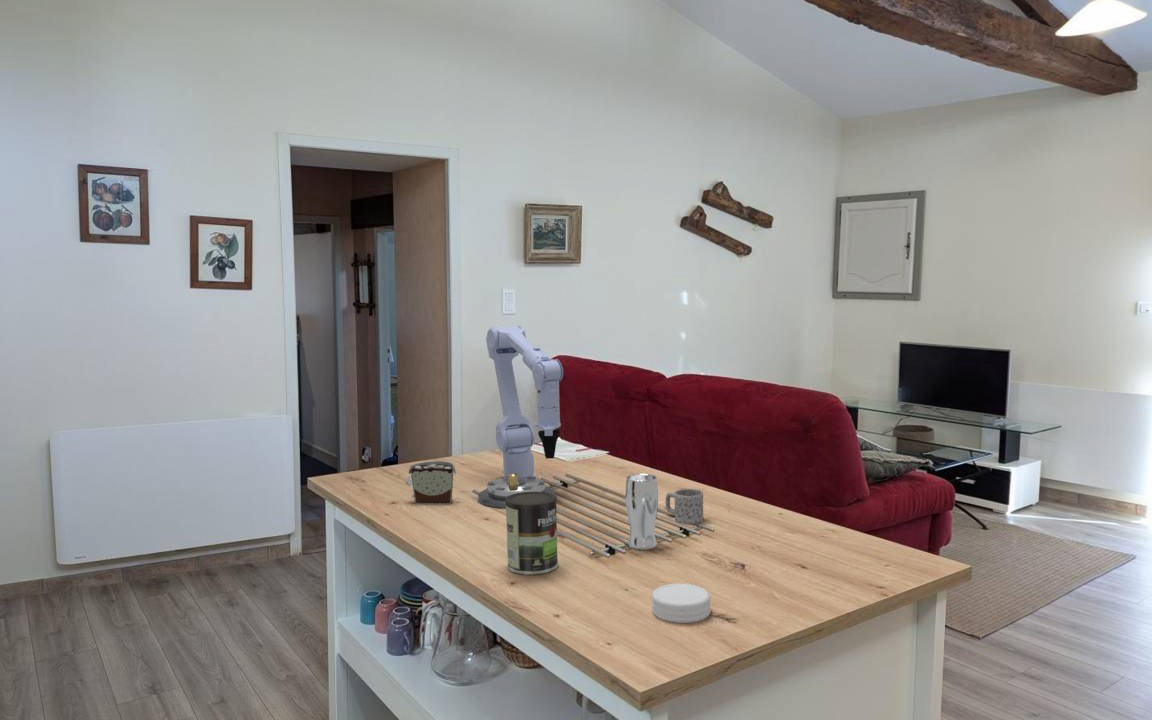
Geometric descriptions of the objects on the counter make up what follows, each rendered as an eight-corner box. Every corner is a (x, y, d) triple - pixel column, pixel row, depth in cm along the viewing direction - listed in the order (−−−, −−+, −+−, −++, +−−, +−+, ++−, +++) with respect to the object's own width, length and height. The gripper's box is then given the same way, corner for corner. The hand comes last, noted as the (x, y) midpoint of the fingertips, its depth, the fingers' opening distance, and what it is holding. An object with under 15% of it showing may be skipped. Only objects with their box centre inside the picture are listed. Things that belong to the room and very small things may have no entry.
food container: (462, 498, 221) (460, 460, 220) (456, 504, 215) (455, 466, 214) (416, 497, 222) (415, 460, 221) (409, 504, 216) (408, 466, 215)
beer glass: (637, 553, 175) (636, 482, 173) (620, 544, 181) (619, 476, 179) (665, 547, 178) (664, 478, 176) (647, 538, 184) (646, 471, 183)
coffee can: (568, 562, 170) (566, 494, 169) (539, 578, 161) (537, 507, 160) (526, 554, 176) (524, 488, 174) (496, 569, 167) (494, 500, 165)
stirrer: (402, 469, 239) (419, 467, 241) (402, 481, 240) (419, 479, 241) (415, 490, 221) (432, 488, 222) (415, 503, 221) (433, 501, 223)
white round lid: (645, 620, 142) (644, 600, 141) (660, 598, 151) (660, 579, 151) (703, 628, 138) (703, 607, 138) (715, 605, 147) (715, 586, 147)
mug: (708, 519, 198) (708, 492, 197) (692, 526, 193) (692, 498, 192) (674, 512, 204) (674, 485, 204) (657, 518, 199) (657, 490, 199)
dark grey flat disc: (500, 485, 233) (500, 481, 233) (566, 491, 225) (566, 486, 225) (464, 504, 214) (464, 499, 214) (535, 511, 207) (534, 506, 207)
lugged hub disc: (547, 485, 227) (546, 461, 226) (542, 500, 212) (541, 475, 211) (492, 485, 227) (491, 462, 227) (483, 500, 213) (482, 475, 212)
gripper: (534, 402, 225) (535, 452, 226) (532, 411, 211) (533, 464, 212) (560, 402, 225) (561, 451, 227) (560, 410, 211) (561, 463, 212)
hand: (549, 458), depth 219 cm, fingers closed
